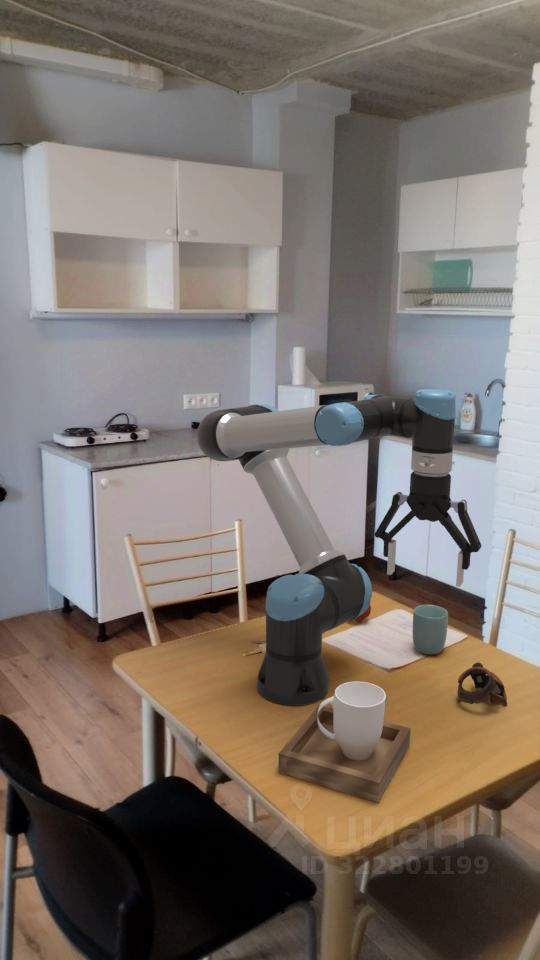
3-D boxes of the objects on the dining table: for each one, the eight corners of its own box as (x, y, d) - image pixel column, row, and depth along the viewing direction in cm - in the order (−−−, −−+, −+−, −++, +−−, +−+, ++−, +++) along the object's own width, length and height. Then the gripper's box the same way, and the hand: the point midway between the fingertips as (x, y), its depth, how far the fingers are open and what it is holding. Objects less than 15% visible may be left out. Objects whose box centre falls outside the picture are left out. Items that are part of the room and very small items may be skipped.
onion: (346, 625, 190) (347, 595, 188) (348, 616, 196) (349, 587, 194) (369, 627, 189) (371, 597, 187) (370, 618, 195) (372, 589, 193)
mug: (381, 739, 139) (384, 681, 136) (383, 770, 130) (387, 708, 127) (316, 736, 140) (318, 677, 137) (315, 766, 131) (317, 704, 128)
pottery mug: (516, 715, 151) (502, 687, 147) (470, 730, 153) (456, 703, 149) (500, 673, 161) (487, 646, 158) (458, 688, 163) (444, 661, 160)
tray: (278, 772, 131) (278, 753, 130) (318, 722, 147) (319, 704, 146) (378, 802, 123) (379, 782, 122) (409, 746, 139) (410, 728, 138)
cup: (420, 640, 182) (422, 601, 180) (450, 649, 178) (453, 609, 176) (405, 652, 176) (407, 612, 174) (437, 661, 172) (439, 620, 169)
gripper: (361, 469, 145) (357, 573, 150) (494, 484, 135) (485, 596, 139) (374, 462, 152) (369, 562, 157) (502, 475, 141) (493, 582, 146)
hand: (424, 578), depth 148 cm, fingers open, 13 cm apart
